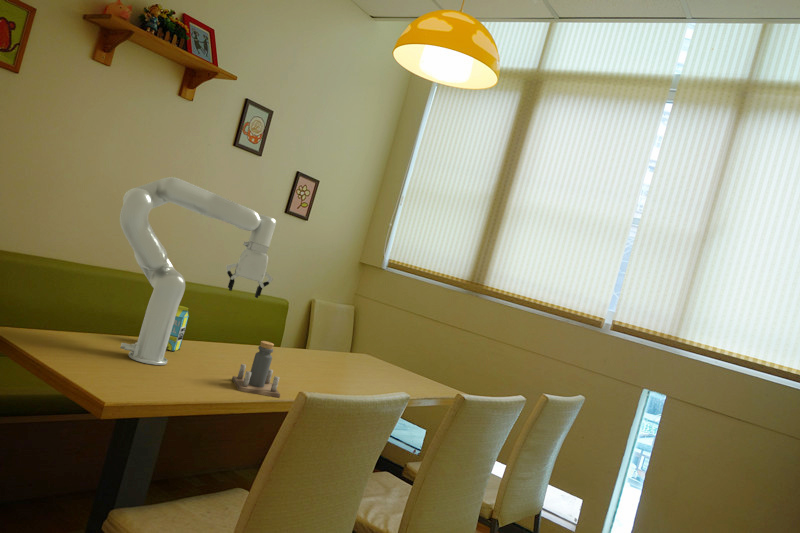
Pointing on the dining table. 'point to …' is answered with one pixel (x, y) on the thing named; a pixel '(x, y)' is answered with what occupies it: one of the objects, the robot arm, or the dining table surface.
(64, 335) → the dining table surface
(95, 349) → the dining table surface
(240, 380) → the pegboard
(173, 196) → the robot arm
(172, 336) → the carton
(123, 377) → the dining table surface
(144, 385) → the dining table surface
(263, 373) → the bottle
